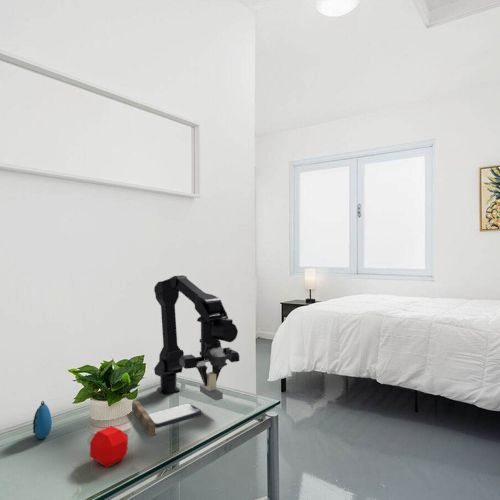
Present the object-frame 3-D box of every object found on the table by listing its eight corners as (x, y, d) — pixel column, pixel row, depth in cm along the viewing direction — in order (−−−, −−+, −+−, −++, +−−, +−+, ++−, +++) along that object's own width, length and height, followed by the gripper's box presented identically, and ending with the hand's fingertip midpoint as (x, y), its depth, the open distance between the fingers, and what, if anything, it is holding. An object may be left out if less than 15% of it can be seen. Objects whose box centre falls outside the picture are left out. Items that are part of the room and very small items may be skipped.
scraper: (200, 391, 143) (199, 370, 142) (206, 389, 144) (206, 368, 144) (215, 400, 134) (215, 378, 134) (222, 398, 136) (222, 376, 136)
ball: (133, 459, 108) (132, 429, 108) (104, 473, 101) (104, 441, 101) (113, 450, 113) (113, 421, 112) (85, 462, 106) (85, 431, 106)
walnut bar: (133, 410, 139) (133, 401, 138) (138, 409, 139) (138, 400, 139) (150, 435, 121) (150, 425, 121) (155, 434, 122) (155, 424, 121)
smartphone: (155, 430, 126) (203, 415, 136) (155, 425, 126) (203, 410, 136) (143, 420, 133) (188, 407, 143) (142, 415, 133) (188, 402, 143)
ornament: (35, 432, 123) (35, 397, 123) (53, 429, 125) (53, 395, 124) (30, 445, 115) (30, 407, 115) (49, 442, 117) (49, 405, 116)
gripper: (191, 345, 128) (191, 398, 128) (247, 338, 137) (247, 388, 137) (178, 338, 138) (178, 386, 138) (232, 332, 146) (232, 378, 147)
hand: (209, 385), depth 140 cm, fingers closed on scraper, 3 cm apart
